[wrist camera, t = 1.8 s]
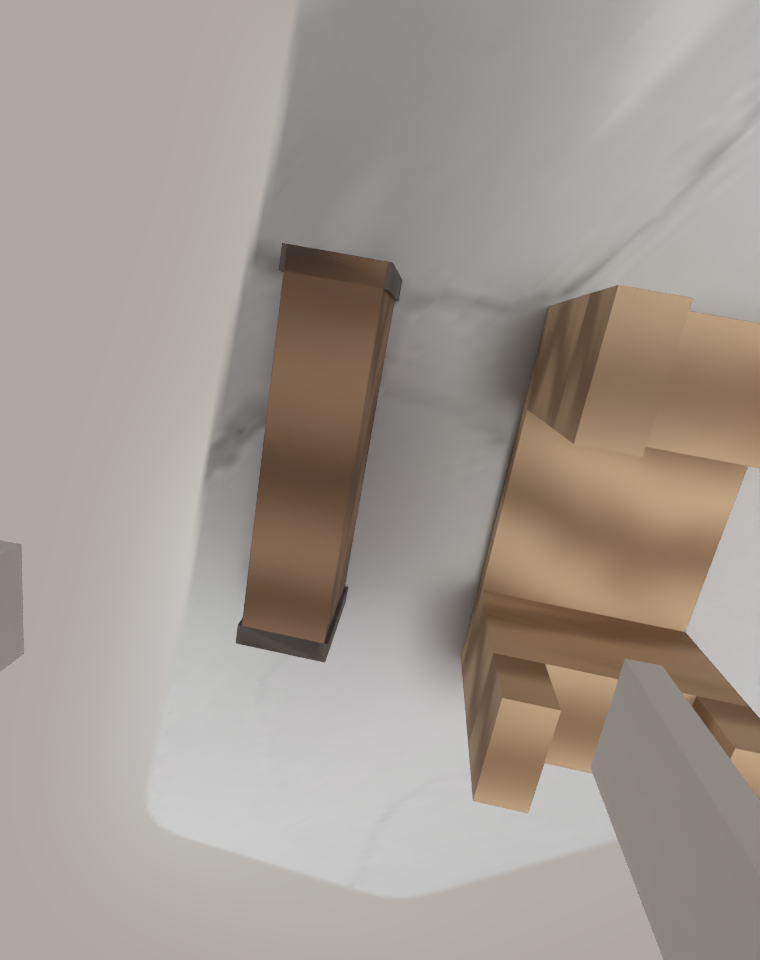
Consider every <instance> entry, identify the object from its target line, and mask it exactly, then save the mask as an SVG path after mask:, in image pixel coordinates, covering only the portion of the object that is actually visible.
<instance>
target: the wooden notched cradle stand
mask: <svg viewBox="0 0 760 960" xmlns="http://www.w3.org/2000/svg"><path fill="white" fill-rule="evenodd" d="M692 300H693V298H690V297H684V296H678V295H673V294H667V293H661V292H655V291H650V290H644V289H638V288H633V287H627V286H621V285H617V286H614V287H611V288H607V289H604V290H601V291H597V292H594V293H591V294H588V295H584V296H581V297H578V298H574V299H571V300H568V301H565V302H561V303H558V304H555V305H551V306H549V309H548V313H547V317H546V321H545V325H544V329H543V333H542V337H541V341H540V345H539V349H538V353H537V357H536V361H535V365H534V369H533V373H532V377H531V381H530V385H529V389H528V393H527V397H526V401H525V405H524V409H523V413H522V417H521V421H520V425H519V429H518V433H517V437H516V441H515V445H514V449H513V453H512V457H511V461H510V465H509V469H508V473H507V477H506V481H505V485H504V489H503V493H502V497H501V501H500V505H499V509H498V513H497V517H496V521H495V525H494V528H493V532H492V536H491V540H490V544H489V548H488V552H487V556H486V560H485V564H484V568H483V572H482V576H481V580H480V584H479V588H478V592H477V596H476V600H475V604H474V608H473V612H472V616H471V620H470V624H469V628H468V632H467V636H466V640H465V644H464V648H463V652H462V656H461V664H462V676H463V688H464V699H465V711H466V723H467V735H468V747H469V758H470V770H471V782H472V794H473V801H476V802H480V803H485V804H489V805H493V806H498V807H502V808H507V809H511V810H515V811H520V812H524V813H528V812H529V809H530V806H531V803H532V800H533V797H534V794H535V791H536V787H537V784H538V781H539V778H540V775H541V772H542V769H543V766H544V763H547V764H551V765H556V766H560V767H565V768H569V769H574V770H578V771H583V772H587V773H592V770H591V767H590V766H591V763H592V760H593V757H594V754H595V751H596V748H597V744H598V741H599V738H600V735H601V732H602V729H603V726H604V723H605V719H606V716H607V713H608V710H609V707H610V704H611V701H612V698H613V695H614V691H615V688H616V685H617V682H618V679H619V676H620V673H621V670H622V666H623V663H624V660H625V659H630V660H635V661H640V662H645V663H651V664H656V665H661V666H663V667H664V669H665V670H666V671H667V673H668V674H669V675H670V677H671V678H672V680H673V681H674V682H675V684H676V685H677V687H678V688H679V689H680V691H681V692H682V693H683V695H684V696H685V698H686V699H687V700H688V702H689V703H690V705H691V706H692V707H693V709H694V710H695V711H696V713H697V714H698V716H699V717H700V718H701V720H702V721H703V722H704V724H705V725H706V727H707V728H708V729H709V731H710V732H711V734H712V735H713V736H714V738H715V739H716V740H717V742H718V743H719V745H720V746H721V747H722V749H723V750H724V751H725V753H726V754H727V756H728V757H729V758H730V760H731V761H732V763H733V764H734V765H735V767H736V768H737V769H738V771H739V772H740V774H741V775H742V776H743V778H744V779H745V780H746V782H747V783H748V785H749V786H750V787H751V789H752V790H753V792H754V793H755V794H756V796H757V797H758V798H759V800H760V718H759V717H758V716H757V715H756V714H755V712H754V711H753V710H752V709H751V708H750V707H749V706H748V704H747V703H746V702H745V701H744V700H743V699H742V697H741V696H740V695H739V694H738V693H737V692H736V690H735V689H734V688H733V687H732V686H731V685H730V683H729V682H728V681H727V680H726V679H725V678H724V677H723V675H722V674H721V673H720V672H719V671H718V670H717V668H716V667H715V666H714V665H713V664H712V663H711V661H710V660H709V659H708V658H707V657H706V656H705V655H704V653H703V652H702V651H701V650H700V649H699V648H698V646H697V645H696V644H695V643H694V642H693V641H692V639H691V638H690V637H689V636H688V635H687V634H686V632H685V631H686V629H687V626H688V623H689V621H690V618H691V615H692V613H693V610H694V607H695V605H696V602H697V600H698V597H699V594H700V592H701V589H702V586H703V584H704V581H705V578H706V576H707V573H708V570H709V568H710V565H711V562H712V560H713V557H714V555H715V552H716V549H717V547H718V544H719V541H720V539H721V536H722V533H723V531H724V528H725V525H726V523H727V520H728V518H729V515H730V512H731V510H732V507H733V504H734V502H735V499H736V496H737V494H738V491H739V488H740V486H741V483H742V481H743V478H744V475H745V473H746V470H747V467H748V466H750V467H756V468H760V323H754V322H749V321H743V320H737V319H732V318H726V317H720V316H715V315H709V314H703V313H697V312H692V311H689V310H690V307H691V304H692ZM592 774H593V773H592Z"/></svg>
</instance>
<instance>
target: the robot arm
mask: <svg viewBox="0 0 760 960" xmlns="http://www.w3.org/2000/svg"><path fill="white" fill-rule="evenodd" d="M22 601H23V596H22V554H21V544H17V543H12V542H5V541H1V540H0V671H2V670H3V669H4V668H6V667H7V666H8V665H10V664H11V663H12V662H13V661H15V660H16V659H17V658H19V657H20V656H21V655H22V654H24V643H23V642H24V639H23V602H22ZM590 767H591V770H592V773H593V775H594V778H595V780H596V783H597V786H598V788H599V791H600V794H601V796H602V799H603V802H604V804H605V807H606V809H607V812H608V815H609V817H610V820H611V823H612V825H613V828H614V831H615V833H616V836H617V838H618V841H619V844H620V846H621V849H622V851H623V854H624V857H625V859H626V862H627V865H628V867H629V870H630V873H631V875H632V877H633V881H634V883H635V885H636V888H637V891H638V894H639V896H640V899H641V901H642V904H643V907H644V909H645V912H646V915H647V917H648V920H649V923H650V925H651V928H652V930H653V933H654V936H655V938H656V941H657V944H658V946H659V949H660V951H661V954H662V957H663V960H760V800H759V798H758V797H757V796H756V794H755V793H754V792H753V790H752V789H751V787H750V786H749V785H748V783H747V782H746V780H745V779H744V778H743V776H742V775H741V774H740V772H739V771H738V769H737V768H736V767H735V765H734V764H733V763H732V761H731V760H730V758H729V757H728V756H727V754H726V753H725V751H724V750H723V749H722V747H721V746H720V745H719V743H718V742H717V740H716V739H715V738H714V736H713V735H712V734H711V732H710V731H709V729H708V728H707V727H706V725H705V724H704V722H703V721H702V720H701V718H700V717H699V716H698V714H697V713H696V711H695V710H694V709H693V707H692V706H691V705H690V703H689V702H688V700H687V699H686V698H685V696H684V695H683V693H682V692H681V691H680V689H679V688H678V687H677V685H676V684H675V682H674V681H673V680H672V678H671V677H670V675H669V674H668V673H667V671H666V670H665V669H664V667H663V666H661V665H656V664H651V663H645V662H640V661H635V660H630V659H625V660H624V663H623V666H622V670H621V673H620V676H619V679H618V682H617V685H616V688H615V691H614V695H613V698H612V701H611V704H610V707H609V710H608V713H607V716H606V719H605V723H604V726H603V729H602V732H601V735H600V738H599V741H598V744H597V748H596V751H595V754H594V757H593V760H592V763H591V766H590Z"/></svg>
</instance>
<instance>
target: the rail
mask: <svg viewBox="0 0 760 960" xmlns="http://www.w3.org/2000/svg"><path fill="white" fill-rule="evenodd" d="M279 270H280V271H282V272H284V274H283V283H282V291H281V300H280V308H279V317H278V325H277V334H276V342H275V350H274V359H273V367H272V376H271V384H270V393H269V401H268V410H267V418H266V427H265V435H264V443H263V452H262V460H261V469H260V477H259V486H258V494H257V503H256V511H255V520H254V528H253V537H252V545H251V553H250V562H249V570H248V579H247V587H246V596H245V604H244V613H243V618H242V620H241V621H240V623H239V624H238V628H237V637H236V643H237V644H242V645H247V646H251V647H256V648H261V649H265V650H270V651H275V652H279V653H284V654H288V655H293V656H298V657H302V658H307V659H312V660H316V661H321V662H325V661H326V658H327V655H328V652H329V649H330V646H331V643H332V640H333V637H334V634H335V631H336V628H337V625H338V623H339V620H340V617H341V614H342V611H343V608H344V605H345V601H346V596H347V590H348V587H346V586H345V582H346V576H347V570H348V564H349V559H350V553H351V547H352V541H353V536H354V530H355V524H356V518H357V513H358V507H359V501H360V496H361V490H362V484H363V478H364V473H365V467H366V461H367V455H368V450H369V444H370V438H371V432H372V427H373V421H374V415H375V409H376V404H377V398H378V392H379V386H380V381H381V375H382V369H383V363H384V358H385V352H386V346H387V340H388V335H389V329H390V323H391V318H392V312H393V306H394V300H395V301H399V295H400V289H401V284H402V279H401V277H400V275H399V273H398V271H397V269H396V267H395V265H394V263H392V262H387V261H381V260H375V259H370V258H364V257H358V256H353V255H347V254H341V253H336V252H330V251H324V250H319V249H313V248H307V247H302V246H296V245H290V244H285V243H282V248H281V257H280V265H279Z"/></svg>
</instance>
